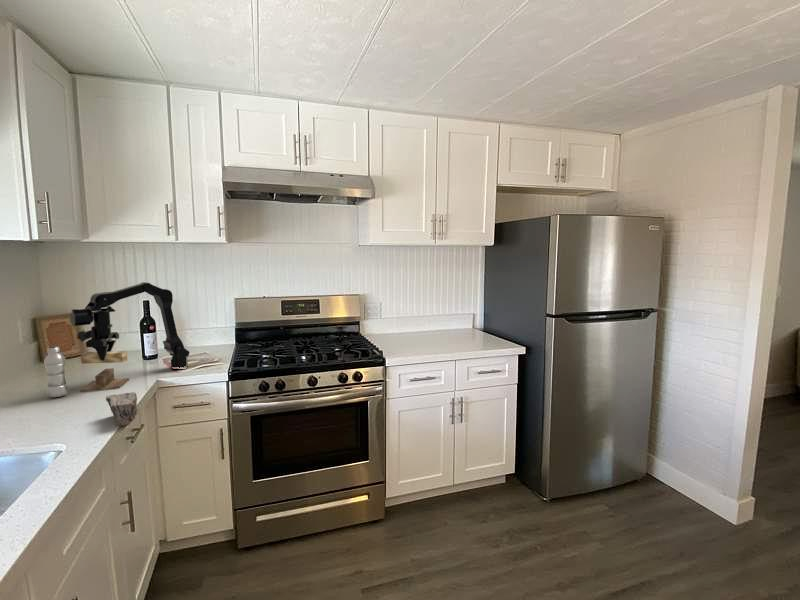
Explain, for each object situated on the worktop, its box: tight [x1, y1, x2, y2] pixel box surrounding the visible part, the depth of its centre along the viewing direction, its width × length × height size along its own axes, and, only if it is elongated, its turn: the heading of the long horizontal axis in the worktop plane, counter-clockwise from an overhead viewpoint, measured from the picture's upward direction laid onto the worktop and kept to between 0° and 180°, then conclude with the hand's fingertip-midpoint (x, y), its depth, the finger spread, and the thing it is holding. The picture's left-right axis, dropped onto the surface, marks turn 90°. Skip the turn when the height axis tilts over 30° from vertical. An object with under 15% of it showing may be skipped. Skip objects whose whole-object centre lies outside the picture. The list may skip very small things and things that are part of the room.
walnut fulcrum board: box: [79, 367, 130, 392], centre depth 180 cm, size 14×12×6 cm
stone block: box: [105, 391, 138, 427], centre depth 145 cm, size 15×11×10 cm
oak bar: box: [80, 350, 128, 364], centre depth 179 cm, size 16×4×4 cm, turn 99°
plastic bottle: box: [43, 345, 69, 398], centre depth 166 cm, size 6×7×20 cm
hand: (104, 359), depth 179 cm, fingers closed on oak bar, 4 cm apart
